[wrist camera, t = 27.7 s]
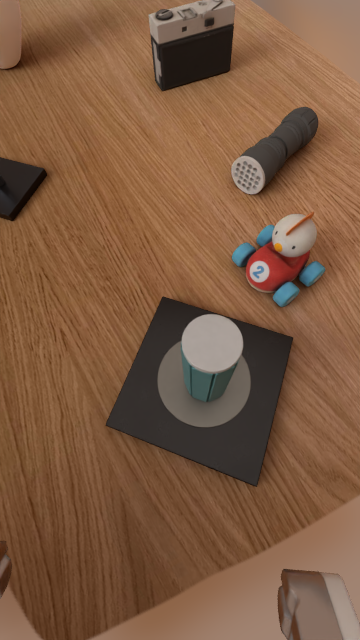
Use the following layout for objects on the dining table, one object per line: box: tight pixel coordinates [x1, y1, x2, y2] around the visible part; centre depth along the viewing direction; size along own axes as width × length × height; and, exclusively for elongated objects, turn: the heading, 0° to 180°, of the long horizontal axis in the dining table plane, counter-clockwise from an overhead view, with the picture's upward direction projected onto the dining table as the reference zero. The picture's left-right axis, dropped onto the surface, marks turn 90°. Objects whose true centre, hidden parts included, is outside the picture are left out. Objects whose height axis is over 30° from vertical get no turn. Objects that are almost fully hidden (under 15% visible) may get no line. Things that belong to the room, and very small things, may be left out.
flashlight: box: [231, 107, 318, 194], centre depth 46 cm, size 15×5×5 cm, turn 139°
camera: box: [149, 0, 235, 91], centre depth 55 cm, size 14×8×10 cm, turn 113°
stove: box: [106, 297, 293, 487], centre depth 34 cm, size 16×16×2 cm
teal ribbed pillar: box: [181, 314, 244, 402], centre depth 28 cm, size 4×4×12 cm
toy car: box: [232, 211, 325, 307], centre depth 36 cm, size 9×9×10 cm
